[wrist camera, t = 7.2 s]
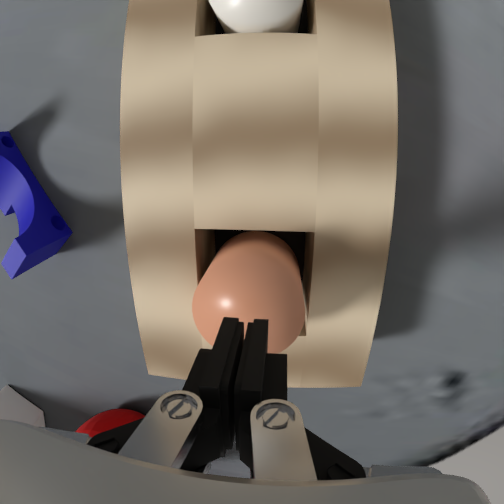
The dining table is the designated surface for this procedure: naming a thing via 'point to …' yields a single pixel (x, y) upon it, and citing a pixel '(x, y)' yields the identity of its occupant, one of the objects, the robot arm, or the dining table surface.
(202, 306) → the peach rounded piece
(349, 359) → the housing
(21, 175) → the cable clip
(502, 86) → the dining table surface
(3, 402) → the milk carton
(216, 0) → the white domed cylinder
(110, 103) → the dining table surface
